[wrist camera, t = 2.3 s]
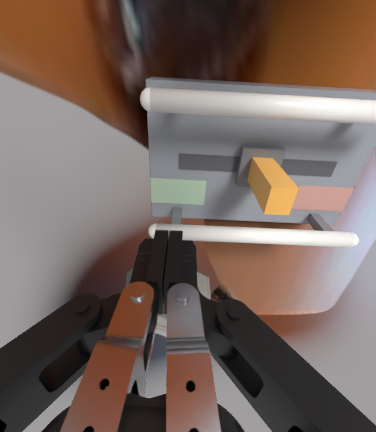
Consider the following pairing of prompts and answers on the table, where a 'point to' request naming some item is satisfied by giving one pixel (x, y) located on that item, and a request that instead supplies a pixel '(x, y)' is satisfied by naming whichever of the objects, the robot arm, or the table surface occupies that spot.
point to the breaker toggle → (266, 178)
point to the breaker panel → (263, 137)
